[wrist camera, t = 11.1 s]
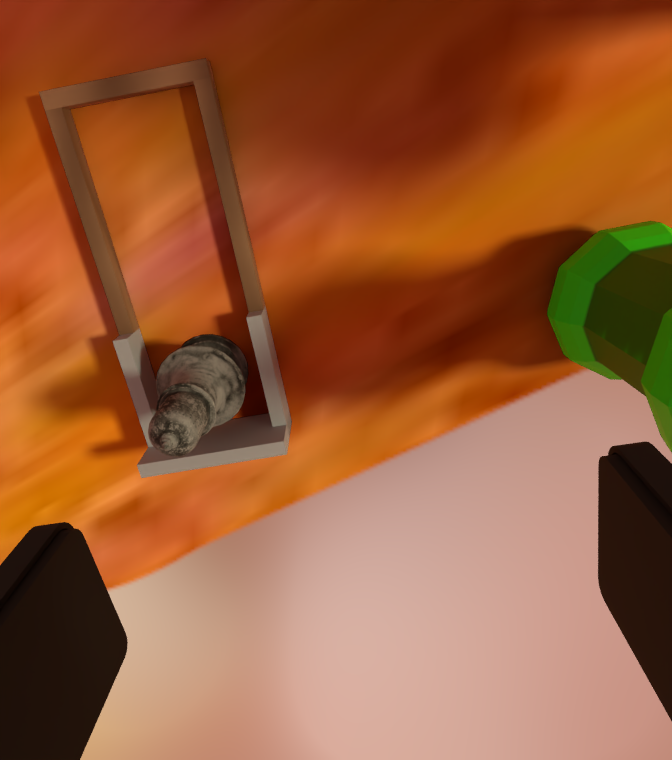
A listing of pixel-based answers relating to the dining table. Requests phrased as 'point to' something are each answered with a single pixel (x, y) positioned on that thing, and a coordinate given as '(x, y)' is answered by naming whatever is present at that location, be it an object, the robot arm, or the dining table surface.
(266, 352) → the socket
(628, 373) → the plastic bottle
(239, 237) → the channel
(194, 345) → the dark grey chess piece
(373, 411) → the dining table surface
